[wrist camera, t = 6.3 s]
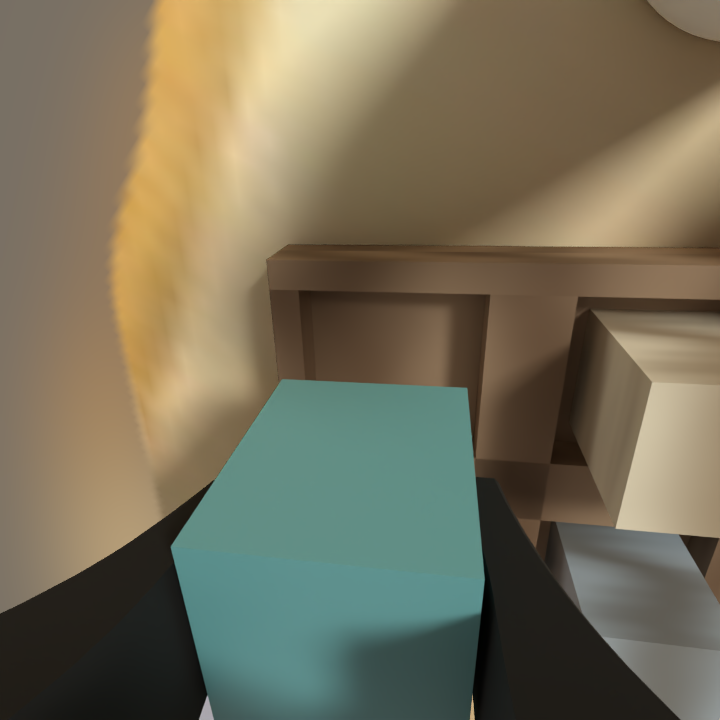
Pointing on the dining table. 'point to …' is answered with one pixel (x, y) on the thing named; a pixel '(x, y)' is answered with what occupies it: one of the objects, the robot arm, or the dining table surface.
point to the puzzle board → (556, 412)
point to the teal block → (340, 558)
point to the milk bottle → (692, 16)
